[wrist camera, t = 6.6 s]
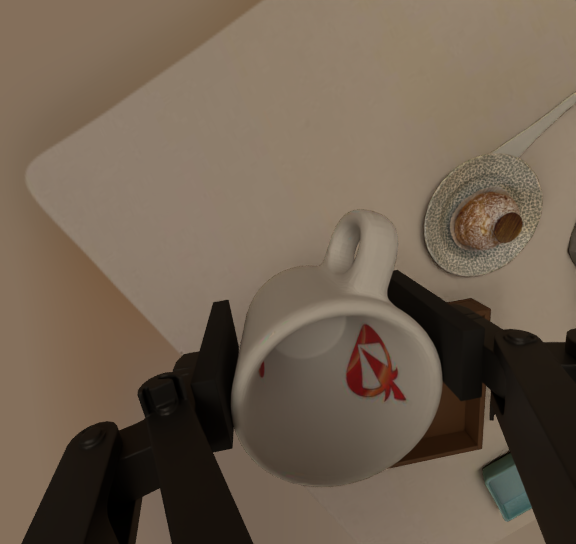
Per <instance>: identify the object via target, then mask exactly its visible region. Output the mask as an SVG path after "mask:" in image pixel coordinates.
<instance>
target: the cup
mask: <svg viewBox="0 0 576 544" xmlns="http://www.w3.org/2000/svg"><path fill="white" fill-rule="evenodd" d="M359 240H360V244H359V249H358V252H357V255H356V258H355V260H354V254H355V250H356V247H357V245H358V242H359ZM397 252H398V235H397V231H396V228H395V227H394V225H393V223H392V222H391V221H390V220H389V219H388V218H386V217H385V216H383V215H381V214H379V213H376V212H374V211H369V210H364V209H357V210H353V211H350V212H348V213H347V214H346V215H344V216H343V217H342V218H341V220H340V221H339V222H338V224H337V226H336V228H335V230H334V232H333V234H332V237H331V240H330V243H329V246H328V249H327V252H326V255H325V258H324V261H323V263H322V264H321V265H320V266H299V267H294V268H291V269H287V270H285V271H283V272H281V273H279V274H277V275H275V276H274V277H272V278H271V279H270V280H268V281H267V282H266V283H265V284H264V285H263V286H262V287H261V288H260V290H259V291H258V292H257V294H256V295H255V297H254V298H253V300H252V302H251V304H250V307H249V310H248V313H247V316H246V320H245V325H244V330H243V335H242V340H241V345H240V350H239V355H238V360H237V365H236V370H235V375H234V380H233V385H232V391H231V415H232V422H233V425H234V429H235V432H236V435H237V437H238V439H239V441H240V443H241V445H242V446H243V448H244V450H245V451H246V453H247V454H248V455H249V456H250V457H251V458H252V460H253V461H254V462H256V463H257V464H258V465H259V466H260V467H261V468H262V469H264V470H265V471H267V472H268V473H270V474H272V475H274V476H276V477H278V478H280V479H282V480H285V481H288V482H291V483H294V484H299V485H303V486H311V487H333V486H341V485H346V484H351V483H354V482H358V481H361V480H364V479H367V478H369V477H372V476H374V475H376V474H378V473H380V472H382V471H384V470H386V469H387V468H389V467H390V466H392V465H394V464H395V463H397V462H398V461H399V460H401V459H402V458H403V457H404V456H405V455H406V454H407V453H409V452H410V451H411V450H412V449H413V448H414V447H415V446H416V444H417V443H418V442H419V441H420V440H421V438H422V437H423V436H424V434H425V433H426V431H427V430H428V428H429V427H430V425H431V423H432V421H433V419H434V417H435V415H436V412H437V409H438V406H439V403H440V398H441V393H442V384H443V379H442V368H441V363H440V359H439V355H438V353H437V350H436V348H435V346H434V344H433V342H432V340H431V339H430V337H429V336H428V334H427V333H426V331H425V330H424V329H423V328H422V327H421V326H420V325H419V324H418V323H417V322H416V321H415V320H414V319H413V318H411V317H410V316H409V315H408V314H406V313H405V312H403V311H402V310H400V309H399V308H397V307H396V306H394V305H393V304H392V303H391V302H390V301H389V299H388V296H387V289H388V285H389V282H390V279H391V276H392V273H393V269H394V266H395V262H396V257H397Z"/></svg>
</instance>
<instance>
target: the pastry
mask: <svg viewBox="0 0 576 544" xmlns="http://www.w3.org/2000/svg"><path fill="white" fill-rule="evenodd" d="M542 204H543V198H542V191H541V188H540V184H539V181H538V178H537V176H536V174H535V173H534V172H533V170H532V169H531V168H530V167H529V165H528V164H527V163H526V162H524V161H523V160H521V159H519V158H518V157H515V156H513V155H509V154H503V153H502V154H501V153H500V154H499V153H498V154H484V155H481V156H478V157H475V158H473V159H470V160H468V161H466V162H464V163H463V164H461V165H460V166H458V167H457V168H455V169H454V170H453V171H452V172H451V173H450V174H449V175H448V176H447V177H446V178H445V179H444V180H443V181H442V182H441V184H440V185H439V187H438V188H437V190H436V191H435V193H434V194H433V196H432V198H431V200H430V203H429V206H428V209H427V212H426V216H425V220H424V236H425V242H426V245H427V248H428V251H429V253H430V254H431V256H432V258H433V259H434V260H435V262H436V263H437V264H438V265H439V266H441V268H443V269H444V270H446V271H448V272H450V273H452V274H455V275H458V276H479V275H484V274H487V273H490V272H492V271H495V270H497V269H500V268H502V267H503V266H505V265H506V264H508V263H509V262H511V261H512V260H513V259H514V258H515V257H517V256H518V254H519V253H520V252H521V251H522V250H523V249H524V247H525V246H526V244H527V243H528V242H529V241H530V239H531V238H532V236H533V234H534V232H535V229H536V227H537V225H538V222H539V219H540V216H541V213H542Z"/></svg>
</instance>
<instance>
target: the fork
mask: <svg viewBox="0 0 576 544" xmlns="http://www.w3.org/2000/svg"><path fill="white" fill-rule="evenodd" d="M575 103H576V92H574V93H573V94H572V95H571V96H569V97H568V98H567V99H566V100H564V101H563V102H562V103H560V104H559V105H558V106H557V107H555V108H554V109H553V110H552V111H550V112H549V113H548V114H546V115H545V116H544V117H542V118H541V119H540V120H538V121H537V122H535V123H534V124H533V125H531V126H530V127H529V128H527V129H526V130H524V131H523V132H521V133H520V134H518V135H517V136H515V137H514V138H512V139H511V140H509V141H508V142H506V143H505V144H503V145H502V146H500V147H499V148H497V149H496V150H494V151H493V152H491V153H490V154H498V153H499V154H500V153H501V154H502V153H503V154H509V155H513V156H515V157H518V158H519V156H520V155H521V154H522V153H523V152H524V151H525V150H526V149H527V148H528V147H529V146H530V145H531V144H532V143H533V142H534V141H535V140H536V139H537V138H538V137H539V136H540V135H541V134H542V133H543V132H544V131H545V130H546V129H547V128H548V127H549V126H550V125H551V124H552V123H554V122H555V121H556V120H557V119H558V118H559V117H560V116H561V115H563V114H564V113H565V112H566V111H567V110H568V109H569V108H571V107H572V106H573V105H574V104H575Z"/></svg>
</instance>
